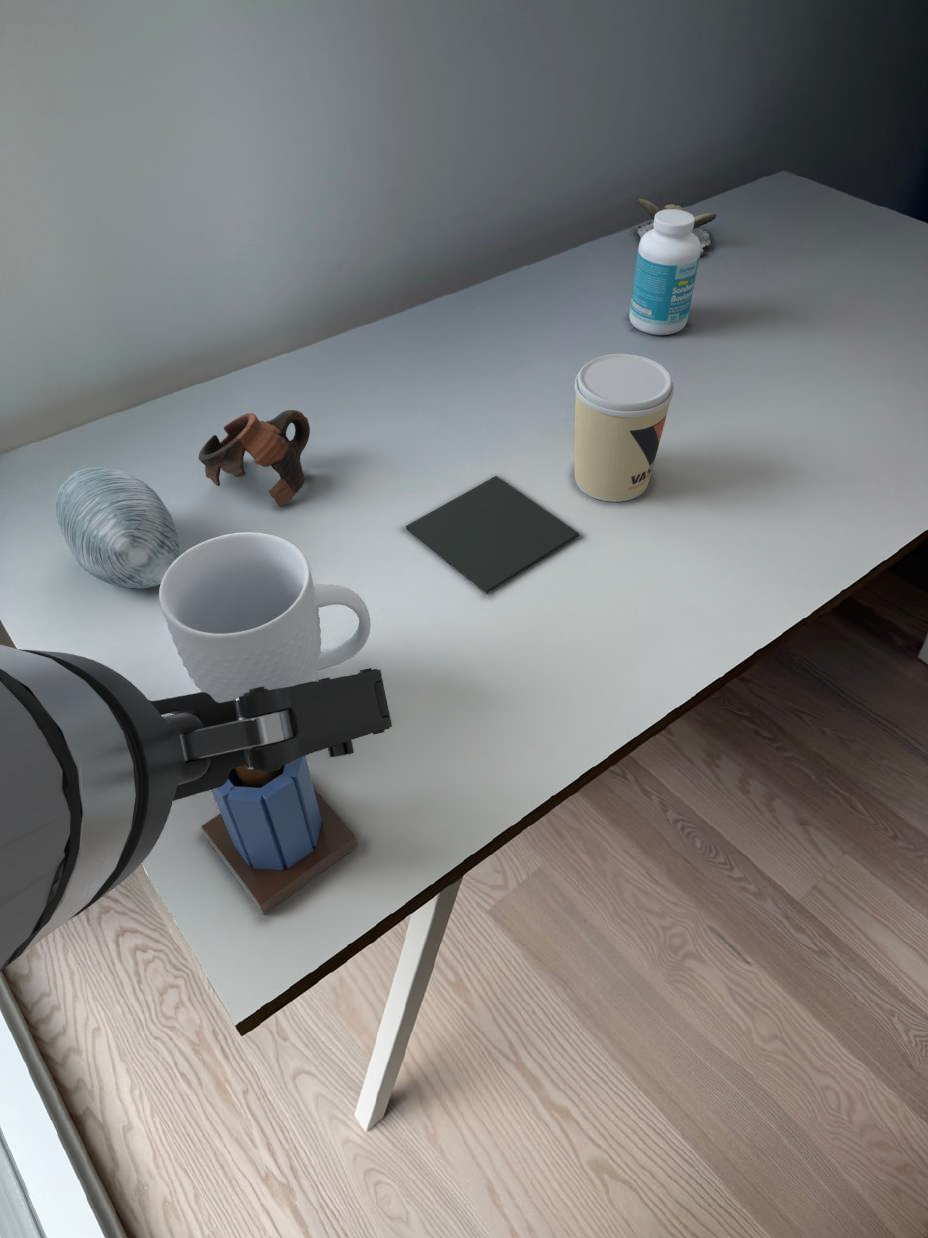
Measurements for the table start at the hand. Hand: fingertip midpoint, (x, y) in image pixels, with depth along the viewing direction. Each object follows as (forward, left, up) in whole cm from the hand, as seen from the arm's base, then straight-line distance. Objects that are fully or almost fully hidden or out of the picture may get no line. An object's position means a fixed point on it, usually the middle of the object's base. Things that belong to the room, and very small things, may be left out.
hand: (185, 739), depth 44 cm
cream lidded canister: (-18, +54, -23) cm, 61 cm away
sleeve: (-5, +5, -21) cm, 22 cm away
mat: (-20, +39, -22) cm, 49 cm away
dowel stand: (-5, +5, -22) cm, 24 cm away
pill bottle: (-36, +82, -23) cm, 92 cm away
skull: (-50, +102, -23) cm, 116 cm away
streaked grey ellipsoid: (-40, +10, -23) cm, 47 cm away
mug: (-17, +12, -23) cm, 31 cm away
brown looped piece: (-42, +27, -23) cm, 55 cm away
